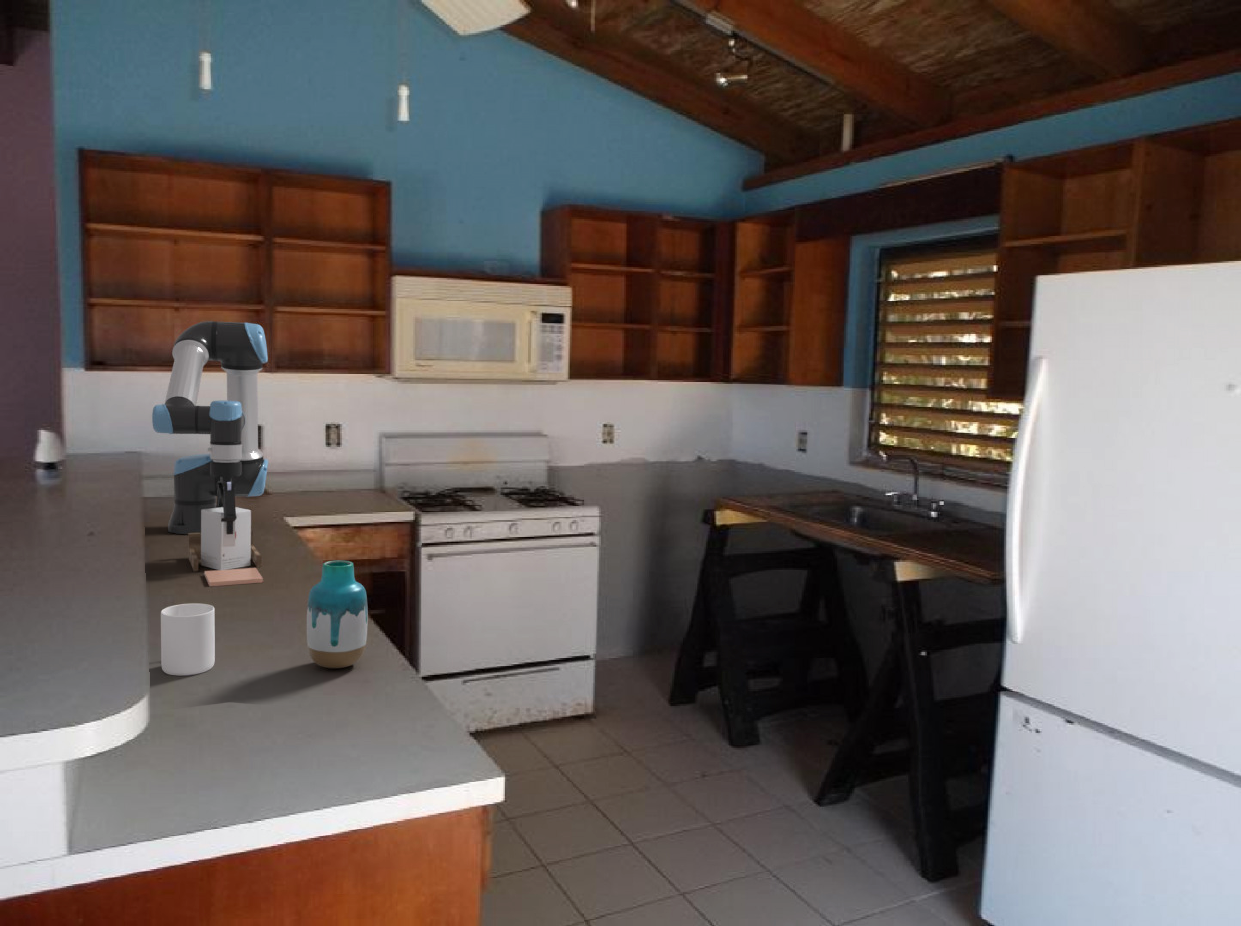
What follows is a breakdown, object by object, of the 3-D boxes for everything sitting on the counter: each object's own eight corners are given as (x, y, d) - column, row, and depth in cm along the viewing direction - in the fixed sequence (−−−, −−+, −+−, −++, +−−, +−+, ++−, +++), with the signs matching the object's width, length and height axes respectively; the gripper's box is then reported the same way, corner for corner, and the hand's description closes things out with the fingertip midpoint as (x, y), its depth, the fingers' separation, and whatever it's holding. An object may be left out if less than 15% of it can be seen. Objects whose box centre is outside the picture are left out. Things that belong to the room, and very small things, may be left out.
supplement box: (220, 571, 232) (220, 513, 230) (200, 565, 237) (199, 509, 235) (252, 565, 240) (252, 509, 238) (231, 560, 245) (231, 505, 243)
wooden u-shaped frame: (188, 557, 245) (188, 533, 244) (252, 554, 253) (252, 530, 252) (193, 571, 231) (193, 544, 230) (261, 566, 239) (261, 541, 238)
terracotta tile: (204, 575, 228) (204, 571, 227) (255, 571, 234) (255, 567, 233) (209, 586, 217) (209, 582, 217) (263, 582, 223) (262, 578, 223)
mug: (211, 652, 171) (211, 596, 170) (216, 673, 160) (216, 613, 159) (160, 657, 167) (159, 600, 166) (162, 679, 156) (161, 618, 155)
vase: (375, 658, 172) (377, 559, 170) (353, 677, 161) (355, 571, 159) (321, 654, 173) (322, 555, 171) (296, 673, 162) (296, 567, 160)
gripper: (205, 455, 244) (205, 533, 246) (215, 466, 223) (215, 551, 225) (235, 455, 248) (235, 532, 250) (248, 465, 226) (248, 549, 228)
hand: (226, 541), depth 237 cm, fingers open, 13 cm apart
